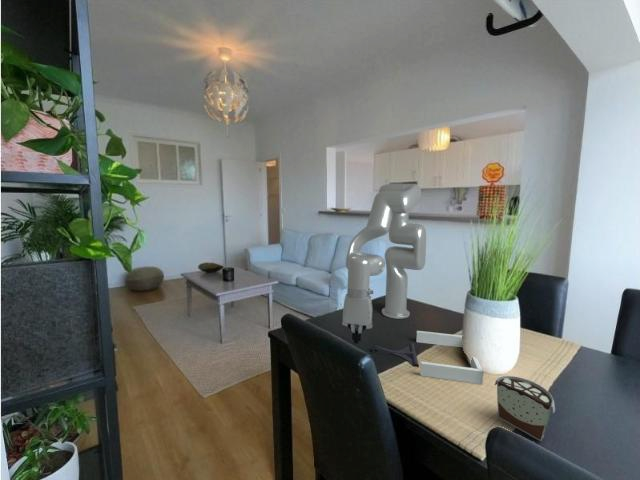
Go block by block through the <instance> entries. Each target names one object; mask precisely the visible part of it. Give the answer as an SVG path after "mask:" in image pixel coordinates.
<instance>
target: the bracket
mask: <svg viewBox="0 0 640 480" xmlns="http://www.w3.org/2000/svg"><path fill="white" fill-rule="evenodd" d="M371 350H372V353H377V354H386V355H388V354H389V355H393V356H397V357H400V358H401V359H403V360H405V361H407V362H408V363H409V364H410V365H411V366H413V367H415V365H416V366H417V368H419V367H420V364H419V360H418V357H417V351H416V348H415V344H414V343H413V342H410V343H409V344H408V345H407V346H406V347H404V348H402V349H398V350H397V349H396V350H395V349H394V350H393V349H388V348H385V347H382V346H379V345H374V346H372V349H371Z"/></svg>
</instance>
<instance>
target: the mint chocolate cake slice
mask: <svg viewBox="0 0 640 480" xmlns="http://www.w3.org/2000/svg"><path fill="white" fill-rule="evenodd" d="M494 386H496V390H497V391H496V392H497V393H496V394H497V397H496V398H497V404H496V405H497V418H498V419H500V420H502V421H504V422H505V423H507V424H510V425H511V426H512V427H515V428H516V429H518V430H520V431H521V432H523V433H525V434H526V435H528V436H530V437H531V438H534V439H536V440H537V441H539V442H541V443H542V442H543V441H544V437H545V433H546V430H547V426H548V422H549V418H550V415H551V411H552V414H554V413H555V412H556V406H555V400H554V397H553V396H552V394H551V393H550V392H549V391H548V390H547V389H546V388H545V387H543V386H542V385H540V384H538V383H536V382H534V381H531V380H530V379H526V378H523V377H520V376H511V375H502V376H499V377H497V379H496V380H495V383H494Z"/></svg>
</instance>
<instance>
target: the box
mask: <svg viewBox="0 0 640 480" xmlns="http://www.w3.org/2000/svg"><path fill="white" fill-rule="evenodd" d="M462 336H463V335H459V334H450V333H442V332H432V331H423V330H416V343H420V344H421V343H422V344H429V345H430V344H431V345H438V346H445V347H455V348H462V349H463V345H462ZM467 361H468V364H469V366H470V367H465V366H458V365H451V364H443V363H435V362H430V361H429V362H428V361H422V360H421V361H420V373H419V374H420V375H419V376H421V377H422V376H423V377H427V378H436V379H441V380H449V381H455V382H463V383H469V384H470V383H471V384H475V385H476V384H477V385H483V381H484V370H483V368H482V366H481V364H480V361H479V360H478V357H477V358H475V357H473V356H472V360H471V363H470V360H468V359H467Z"/></svg>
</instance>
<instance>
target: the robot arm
mask: <svg viewBox="0 0 640 480" xmlns="http://www.w3.org/2000/svg"><path fill="white" fill-rule="evenodd" d="M378 189H379V190H378V193H376V195H375V196H374V198H373V200H372V201H373V202H372V205H371V208H370V212H369V216H368V221H367V224H366V225H365V227H364V228H363V229H361V230H360V231H359V232H358V233H357V234H356V235H355V236H354V237H353V238H352V240H351V241H350V244H349V246H348V250H347V253H346V256H345V257H346V259H345V266H346V268H347V291H346V293H345V296H344V301H343V307H342V308H343V309H342V310H343V311H342V321H341V322H342V323H341V325H342V326H345V327H348V329H349V330H350V331H351V334H352V335H351V337H352V338H351V339H352V341H353V344H355V345H359V342H361V341H362V333H363V332H364V331H366V329H367V330H369V329H372V328H373V302H372V301H373V300H372V296H371V295H374V290H373V289H371V288H370V279H371V278H370V277H374V276H375V277H376V276H379V275H380V274H382V273H383V272H384V270H385V269H386V277H385V278H386V279H385V300H384V301H385V302H384V303H385V306H384V307H383V308H382V309H381V314H382V315H383V316H385V317H387V318H389V319H390V318H391V319H397V320H399V319H400V320H401V319H406V318H409V317H410V311H409V310H408V309H407V301H408V283H409V281H408V280H409V279H408V275H407V272H406V271H405V269H406V270H413V271H421V270H422V269H423V268H424V267H425V265H426V255H427V254H426V253H427V252H426V251H427V250H426V249H427V232H426V231H427V230H426V227H425V226H424V225H422V224H420V223H413V222H412V223H410V222H409V214H410V212H411V211H413V209H414V208H416V206H417V205H418V204H419V203H420V201H421V199H422V189H421V187H420V185H419V184H417V183H390V184H389V183H388V184H384V185H381V186H380V187H379V188H378ZM386 235H388V239H389V241H390V243H392V244H397V246H396V245H394V246H390V247H388V248H387V249H386V250H385V253H384V258H383V257H382V256H381V255H379V254H373V253H365V252H360V251H361V248H362V247H363V246H364V245H365V244H367V243H368V242H370V241H372V240H375V239H377V238H380V237H382V236H386ZM398 245H404V246H398ZM405 245H407V246H412V247H407V246H405ZM356 326H358V328H357V327H356Z"/></svg>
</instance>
